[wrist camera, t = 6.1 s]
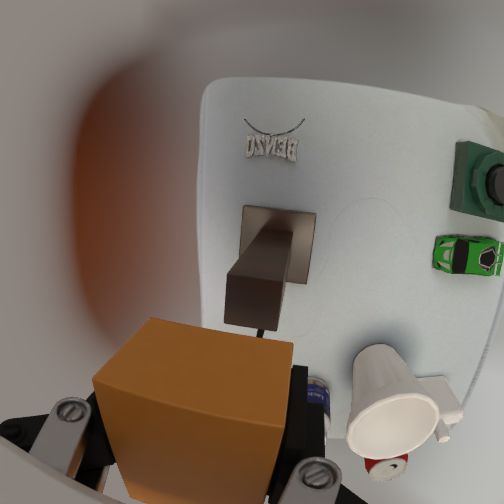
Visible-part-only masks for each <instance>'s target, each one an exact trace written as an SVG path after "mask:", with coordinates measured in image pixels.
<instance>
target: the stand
mask: <svg viewBox="0 0 504 504" xmlns="http://www.w3.org/2000/svg"><path fill="white" fill-rule="evenodd" d="M315 222H316V214H315V213H308V212H300V211H292V210H284V209H276V208H267V207H259V206H250V205H244V206H243V214H242V226H241V237H240V249H239V259H238V260H237V261H236V263H235V264H234V265H233V267H232V268H231V269H230V271H229V272H228V273H227V282H226V296H225V311H224V323H225V324H231V325H237V326H243V327H249V328H256V329H262V330H269V331H277V328H278V323H279V317H280V312H281V307H282V301H283V296H284V291H285V285H286V282H292V283H299V284H307V278H308V272H309V265H310V258H311V251H312V244H313V237H314V230H315Z"/></svg>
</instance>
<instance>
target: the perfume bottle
mask: <svg viewBox="0 0 504 504" xmlns="http://www.w3.org/2000/svg"><path fill="white" fill-rule="evenodd" d="M417 379H418V381H419V382H420V383H421V385H422V386H423V387H424V388H425V389H426V390H427V391H428V392H429V394H430V395H431V396H432V397H433V399H434V400H435V402H436V403H437V405H438V406H439V416H440V419H439V421H438V423H437V426H436V428H435V430H434V433H435V435H436V438H437V441H438V443H445V442H447V441H448V440H449V439H450V434H449V432H448V429H447V427H446V425H447V424H453V423H458V422H459V421H460V420H461V419H462V417H463V414H464V411H463V409H462V407H461V405H460V403H459V401H458V400H457V398H456V396H455V394H454V392H453V390H452V389H451V387H450V385H449V383H448V381H447V380H446V378H445V376H436V377H424V378H417Z"/></svg>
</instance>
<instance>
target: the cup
mask: <svg viewBox="0 0 504 504" xmlns="http://www.w3.org/2000/svg"><path fill="white" fill-rule="evenodd" d="M439 419H440V416H439V406H438V405H437V403H436V402H435V400H434V399H433V397H432V396H431V395H430V394H429V392H428V391H427V390H426V389H425V388H424V387H423V386H422V385H421V383H420V382H419V381H418V379H417V378H416V377H415V375H414V374H413V373H412V371H411V370H410V369H409V368H408V366H407V365H406V364H405V362H404V361H403V360H402V359H401V357H400V356H399V355H398V353H397V352H396V351H395V350H394V349H393V348H392V347H390V346H388V345H385V344H375V345H372V346H369V347H366V348H365V349H364V350H362V351H361V352H360V353H359V354H358V355H357V357H356V358H355V360H354V364H353V387H352V404H351V413H350V415H349V419H348V424H347V431H346V440H347V442H348V445H349V448H350V449H351V450H352V451H354V452H355V453H356V454H358V455H359V456H361V457H365V458H370V459H375V460H377V459H389V458H394V457H397V456H400V455H403V454H406V453H408V452H410V451H412V450H413V449H415V448H417V447H418V446H420V445H421V444H423V443H424V442H425V441H426V439H428V437H429V436H430V435H431V434H432V433H433V432H434V430H435V428H436V426H437V423H438V421H439Z"/></svg>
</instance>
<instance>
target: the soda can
mask: <svg viewBox="0 0 504 504" xmlns="http://www.w3.org/2000/svg"><path fill="white" fill-rule="evenodd" d="M364 459H365V468H366V470H367V472H368V474H369V477H370V478H371V479H372V480H374V481H388V480H392V479H394V478H396V477H399V476H400V475H401V474H403V473H404V472H405V471H406V469H407V461H408V454H407V453H406V454H403V455H400V456H397V457H394V458H389V459H377V460H375V459H370V458H365V457H364Z"/></svg>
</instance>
